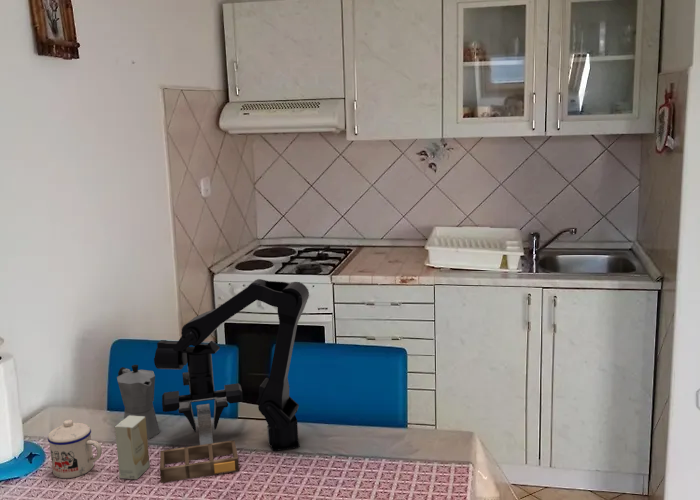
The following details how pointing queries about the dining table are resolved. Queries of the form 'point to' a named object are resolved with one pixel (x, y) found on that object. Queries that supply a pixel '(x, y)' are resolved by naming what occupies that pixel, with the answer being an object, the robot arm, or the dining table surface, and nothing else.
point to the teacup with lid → (72, 449)
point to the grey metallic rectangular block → (204, 424)
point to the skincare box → (132, 447)
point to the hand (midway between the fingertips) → (205, 430)
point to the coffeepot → (139, 396)
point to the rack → (201, 467)
